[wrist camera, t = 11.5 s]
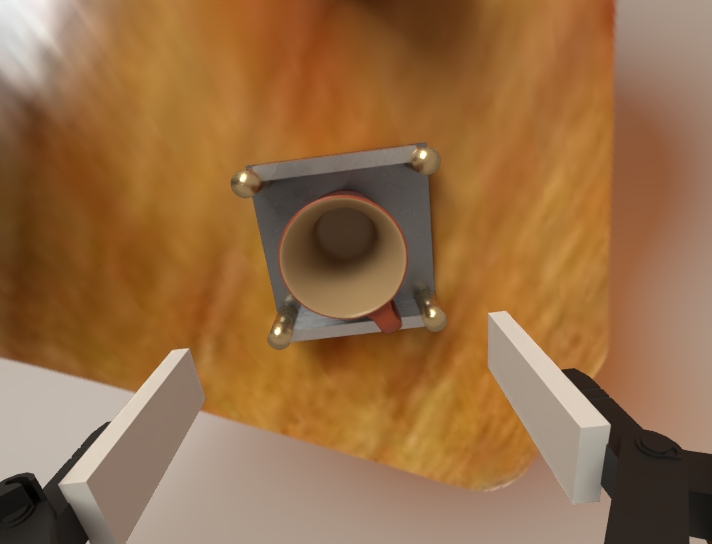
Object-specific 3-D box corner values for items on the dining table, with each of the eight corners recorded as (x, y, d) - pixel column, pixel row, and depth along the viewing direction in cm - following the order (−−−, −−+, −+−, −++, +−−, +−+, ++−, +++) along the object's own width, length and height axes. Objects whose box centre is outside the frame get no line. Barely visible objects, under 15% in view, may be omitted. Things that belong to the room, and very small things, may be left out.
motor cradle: (282, 321, 38) (270, 352, 33) (248, 165, 33) (227, 170, 27) (433, 303, 38) (447, 332, 32) (424, 142, 32) (439, 142, 27)
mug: (279, 212, 33) (251, 241, 24) (360, 160, 32) (365, 168, 22) (349, 311, 37) (348, 372, 27) (424, 269, 35) (452, 316, 26)
